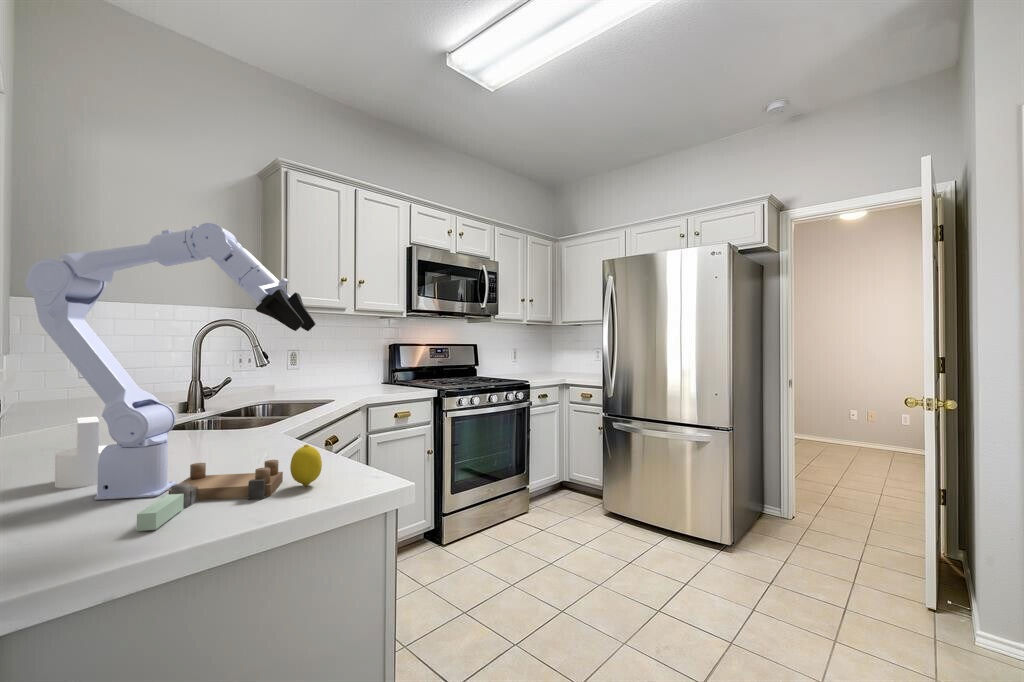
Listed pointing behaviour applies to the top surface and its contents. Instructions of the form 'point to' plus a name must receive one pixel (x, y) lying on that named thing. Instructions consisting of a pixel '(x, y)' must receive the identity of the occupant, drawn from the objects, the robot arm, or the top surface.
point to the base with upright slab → (80, 457)
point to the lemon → (306, 465)
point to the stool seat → (228, 484)
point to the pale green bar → (159, 512)
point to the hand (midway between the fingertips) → (306, 327)
